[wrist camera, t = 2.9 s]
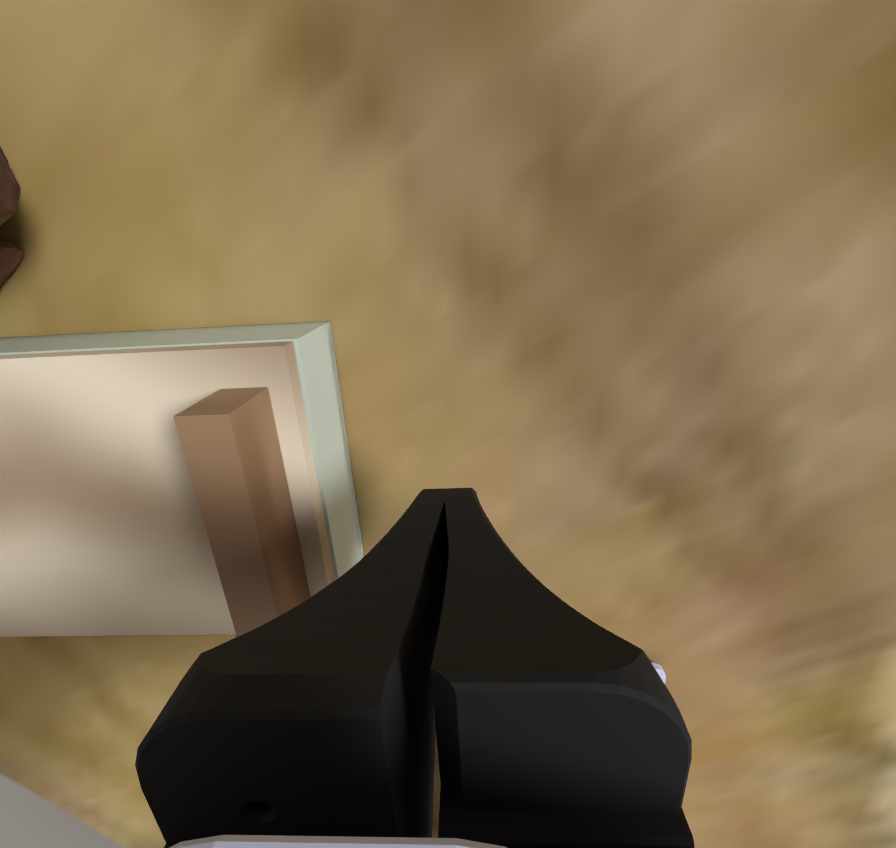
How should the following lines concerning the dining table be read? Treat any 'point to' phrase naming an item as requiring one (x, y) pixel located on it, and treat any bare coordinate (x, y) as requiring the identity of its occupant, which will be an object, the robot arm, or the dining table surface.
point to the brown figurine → (3, 204)
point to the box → (317, 395)
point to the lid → (156, 491)
